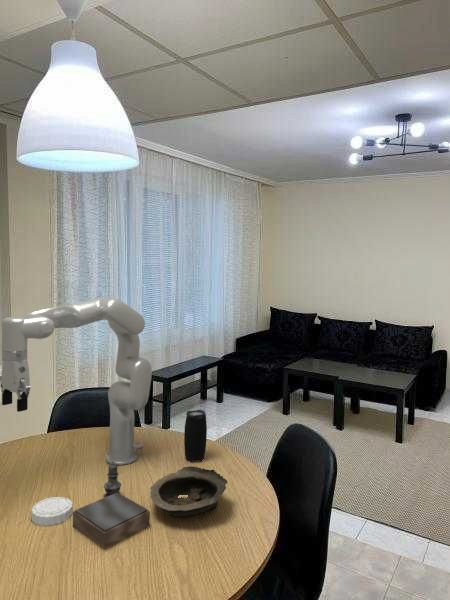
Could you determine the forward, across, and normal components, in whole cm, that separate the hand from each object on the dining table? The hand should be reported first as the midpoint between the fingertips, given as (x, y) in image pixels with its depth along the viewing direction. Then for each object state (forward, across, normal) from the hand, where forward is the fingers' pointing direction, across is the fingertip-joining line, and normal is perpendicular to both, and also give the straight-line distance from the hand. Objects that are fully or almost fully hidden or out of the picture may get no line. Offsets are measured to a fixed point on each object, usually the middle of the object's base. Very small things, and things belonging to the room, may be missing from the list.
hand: (14, 407), depth 145 cm
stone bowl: (+31, -46, -34) cm, 65 cm away
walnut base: (+31, -36, -11) cm, 49 cm away
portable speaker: (+31, -23, -64) cm, 74 cm away
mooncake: (+31, -18, -3) cm, 36 cm away
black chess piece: (+31, -22, -23) cm, 44 cm away
